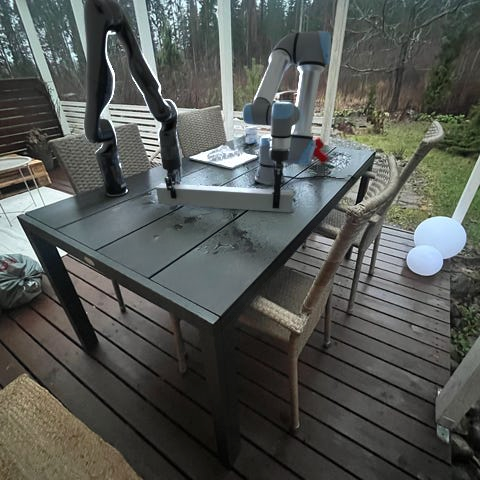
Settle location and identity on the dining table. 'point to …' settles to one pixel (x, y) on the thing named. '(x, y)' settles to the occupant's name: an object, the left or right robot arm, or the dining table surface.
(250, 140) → the ink box
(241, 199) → the beam
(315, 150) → the toy gun
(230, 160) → the relief map
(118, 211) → the dining table surface
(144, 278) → the dining table surface
